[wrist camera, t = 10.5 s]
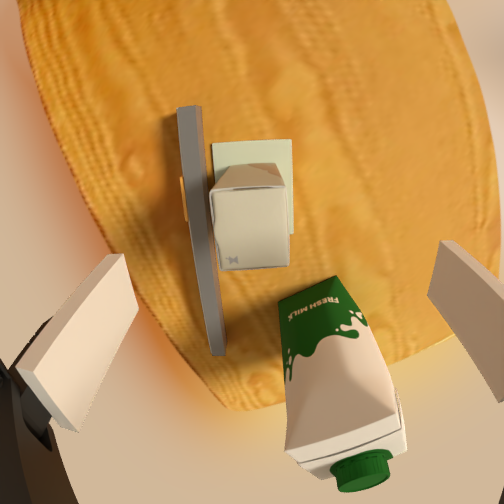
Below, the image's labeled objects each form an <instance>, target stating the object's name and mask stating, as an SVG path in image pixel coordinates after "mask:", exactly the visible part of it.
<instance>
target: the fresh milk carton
mask: <svg viewBox="0 0 504 504" xmlns="http://www.w3.org/2000/svg"><path fill="white" fill-rule="evenodd" d="M278 307H279V319H280V332H281V344H282V358H283V370H284V383H285V396H286V409H287V430H286V431H287V432H286V441H285V450H284V451H285V452H286V453H287V454H288V455H290V456H291V457H292V458H294V459H295V460H296V461H297V464H298V465H299V466H300V467H302V468H304V469H306V470H307V471H309V472H310V473H312V474H313V475H314V476H316V477H317V478H319V479H321V480H324V479H328V478H331V477H334V476H335V477H336V480H337V487H338V490H339V491H340V492H356V491H361V490H365V489H369V488H372V487H374V486H377V485H379V484H381V483H382V482H384V481H386V480H387V479H388V478H389V477H390V472H389V467H388V463H387V460H389V459H391V458H393V456H396V455H399V454H401V453H403V452H406V451H407V445H406V434H405V425H404V419H403V414H402V409H401V404H400V400H399V396H398V393H397V389H396V393H397V397H398V401H399V406H400V413H401V419H400V414H399V410H398V404H397V399H396V395H395V391H394V387H393V383H392V380H391V377H390V374H389V371H388V369H387V366H386V364H385V362H384V359H383V357H382V354H381V352H380V350H379V348H378V345H377V343H376V341H375V339H374V336H373V334H372V332H371V330H370V327H369V325H368V323H367V321H366V319H365V318H364V316H363V314H362V312H361V311H360V309H359V308H358V306H357V305H356V303H355V302H354V300H353V299H352V298H351V296H350V295H349V293H348V292H347V290H346V289H345V287H344V286H343V284H342V283H341V281H340V280H339V279H338V277H337V276H334V277H332V278H330V279H328V280H326V281H323V282H321V283H319V284H317V285H315V286H313V287H310V288H308V289H306V290H304V291H302V292H299V293H297V294H295V295H293V296H291V297H288V298H286V299H284V300H282V301H279V302H278Z"/></svg>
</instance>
